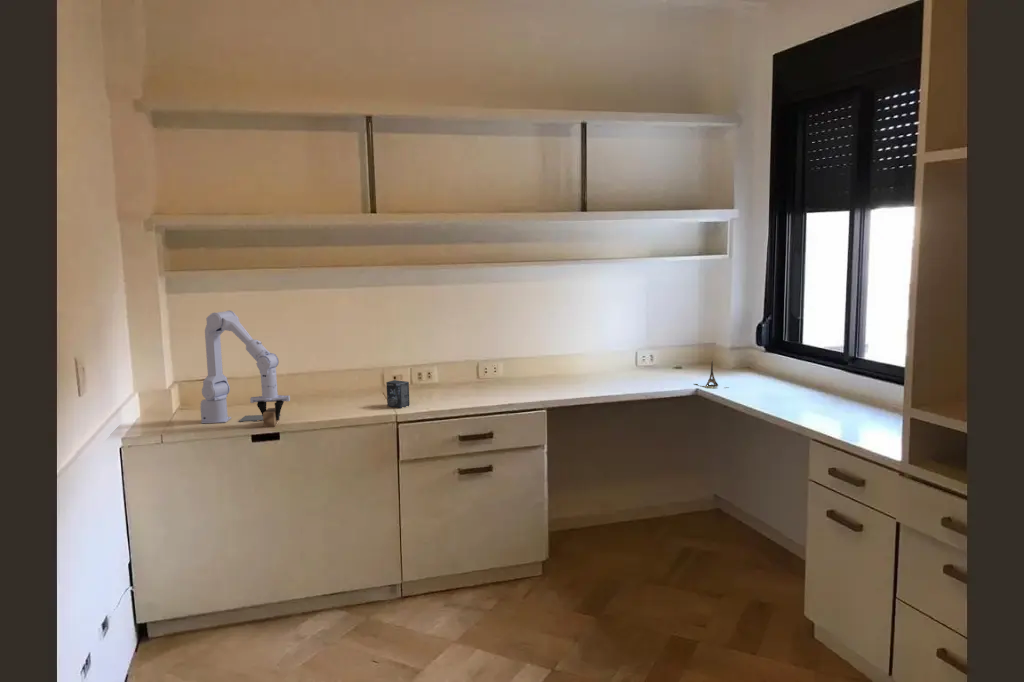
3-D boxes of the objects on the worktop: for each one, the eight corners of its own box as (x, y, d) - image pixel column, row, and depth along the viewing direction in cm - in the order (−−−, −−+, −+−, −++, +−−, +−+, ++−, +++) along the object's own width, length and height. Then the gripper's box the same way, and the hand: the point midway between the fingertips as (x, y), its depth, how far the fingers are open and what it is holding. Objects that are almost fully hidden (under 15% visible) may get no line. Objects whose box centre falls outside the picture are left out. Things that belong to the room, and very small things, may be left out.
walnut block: (263, 427, 290) (262, 413, 289) (269, 421, 298) (268, 408, 298) (274, 426, 290) (273, 412, 289) (279, 421, 299) (278, 407, 298)
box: (387, 406, 321) (385, 382, 319) (396, 404, 325) (395, 379, 324) (401, 408, 316) (399, 383, 315) (410, 406, 321) (409, 381, 320)
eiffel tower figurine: (691, 385, 354) (692, 356, 352) (710, 383, 358) (710, 355, 356) (711, 390, 340) (711, 361, 338) (730, 388, 344) (730, 359, 342)
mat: (239, 422, 299) (239, 420, 299) (245, 416, 308) (245, 415, 308) (275, 420, 300) (275, 419, 300) (280, 415, 309) (280, 414, 309)
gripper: (247, 388, 288) (249, 423, 289) (286, 386, 289) (288, 421, 290) (252, 384, 295) (254, 419, 296) (290, 383, 296) (292, 417, 297)
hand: (271, 420), depth 294 cm, fingers closed on walnut block, 4 cm apart
